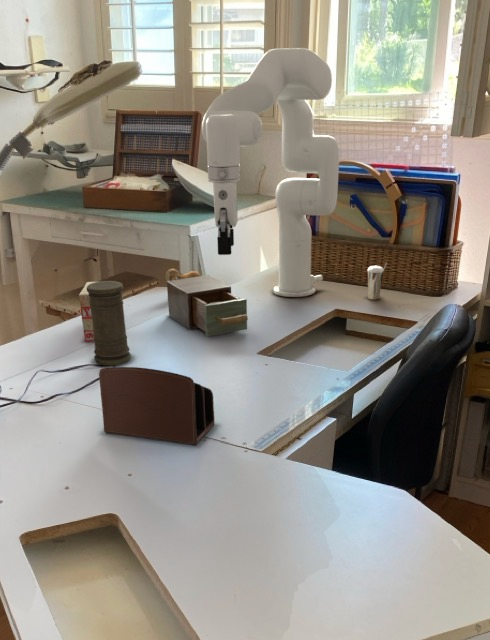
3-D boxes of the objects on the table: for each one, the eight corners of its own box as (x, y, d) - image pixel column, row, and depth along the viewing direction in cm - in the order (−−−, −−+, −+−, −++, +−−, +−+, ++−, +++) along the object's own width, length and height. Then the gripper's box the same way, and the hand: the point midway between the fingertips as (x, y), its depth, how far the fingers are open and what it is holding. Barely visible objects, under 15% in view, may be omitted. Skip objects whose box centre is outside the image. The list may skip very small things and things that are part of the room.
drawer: (255, 334, 209) (255, 303, 204) (215, 341, 205) (214, 310, 201) (225, 316, 223) (224, 287, 219) (186, 322, 219) (185, 293, 215)
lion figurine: (175, 302, 239) (173, 271, 235) (162, 299, 243) (160, 268, 238) (210, 291, 248) (209, 261, 244) (198, 289, 252) (196, 259, 247)
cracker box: (97, 317, 229) (92, 273, 222) (119, 317, 229) (114, 272, 222) (84, 342, 211) (78, 294, 204) (108, 341, 210) (103, 293, 204)
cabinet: (232, 322, 221) (231, 286, 216) (189, 329, 217) (187, 293, 212) (209, 309, 232) (208, 275, 227) (169, 316, 228) (166, 281, 223)
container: (115, 368, 193) (107, 291, 183) (86, 362, 197) (77, 287, 187) (138, 357, 199) (132, 282, 190) (110, 351, 203) (102, 278, 194)
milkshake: (385, 300, 234) (388, 264, 229) (367, 300, 235) (369, 265, 229) (383, 295, 238) (385, 260, 233) (364, 296, 238) (366, 261, 233)
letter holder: (196, 446, 154) (192, 375, 147) (103, 433, 161) (95, 364, 153) (215, 425, 162) (212, 357, 155) (126, 414, 168) (119, 348, 161)
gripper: (237, 178, 182) (239, 257, 191) (241, 168, 197) (243, 242, 206) (204, 179, 183) (207, 258, 192) (211, 169, 197) (213, 242, 206)
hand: (226, 250), depth 199 cm, fingers open, 9 cm apart
